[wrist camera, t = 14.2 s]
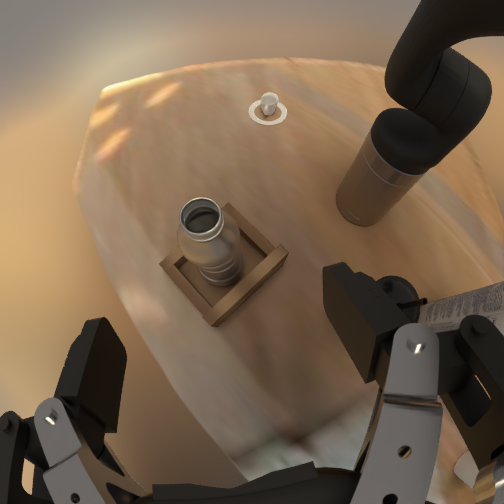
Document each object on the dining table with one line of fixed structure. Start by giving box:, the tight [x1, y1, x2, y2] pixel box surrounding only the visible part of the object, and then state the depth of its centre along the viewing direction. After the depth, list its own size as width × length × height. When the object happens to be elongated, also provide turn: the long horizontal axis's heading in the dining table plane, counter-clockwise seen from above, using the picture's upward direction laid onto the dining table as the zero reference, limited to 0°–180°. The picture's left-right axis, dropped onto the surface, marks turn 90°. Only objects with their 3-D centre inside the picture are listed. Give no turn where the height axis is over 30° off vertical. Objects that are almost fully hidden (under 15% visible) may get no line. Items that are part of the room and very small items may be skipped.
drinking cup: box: [376, 276, 427, 323], centre depth 32 cm, size 8×8×20 cm
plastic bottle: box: [177, 197, 244, 286], centre depth 33 cm, size 6×7×20 cm
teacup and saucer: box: [249, 92, 287, 125], centre depth 51 cm, size 9×8×4 cm
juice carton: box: [418, 281, 504, 336], centre depth 27 cm, size 9×10×27 cm
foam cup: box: [454, 451, 479, 489], centre depth 25 cm, size 10×9×13 cm
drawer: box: [159, 202, 289, 327], centre depth 40 cm, size 14×12×7 cm
